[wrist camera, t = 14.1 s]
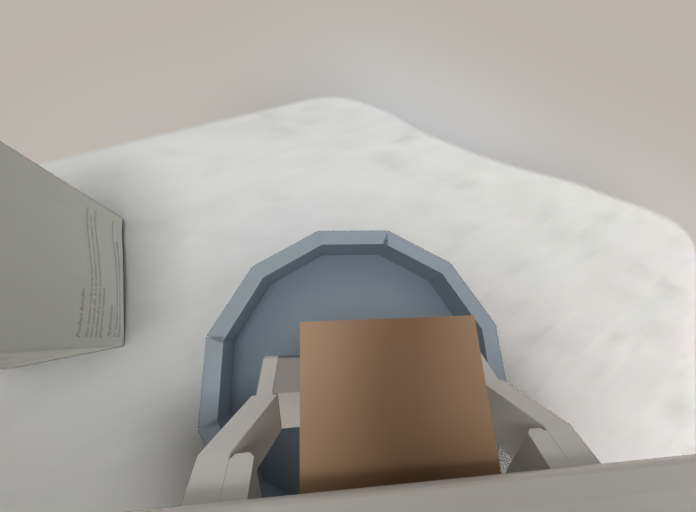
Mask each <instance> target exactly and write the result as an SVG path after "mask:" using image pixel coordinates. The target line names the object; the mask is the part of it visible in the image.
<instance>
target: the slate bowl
mask: <svg viewBox="0 0 696 512" xmlns="http://www.w3.org/2000/svg"><path fill="white" fill-rule="evenodd" d="M449 264H450V263H449V262H447V261H446V260H444V259H442V258H440V257H438V256H436V255H434V254H432V253H430V252H428V251H426V250H424V249H422V248H420V247H419V246H417V245H415V244H413V243H411V242H409V241H407V240H405V239H403V238H401V237H399V236H397V235H395V234H393V233H391V232H390V231H388V232H387V231H318V232H315V233H313V234H311V235H310V236H308V237H306V238H304V239H302V240H300V241H299V242H297V243H295V244H293V245H291V246H289V247H288V248H286V249H284V250H282V251H280V252H278V253H277V254H275V255H273V256H271V257H269V258H267V259H266V260H264V261H262V262H260V263H258V264H256V265H255V266H253V267H254V268H251V270H250V271H249V273H248V274H247V276H246V277H245V279H244V280H243V282H242V283H241V285H240V286H239V288H238V289H237V291H236V292H235V294H234V295H233V297H232V298H231V300H230V301H229V303H228V305H227V306H226V308H225V309H224V311H223V312H222V314H221V315H220V317H219V318H218V320H217V321H216V323H215V324H214V326H213V327H212V329H211V330H210V332H209V333H208V335H207V336H208V337H206V347H205V358H204V368H203V379H202V390H201V401H200V412H199V423H198V428H200V429H199V430H198V431H199V433H200V435H201V437H202V439H203V441H204V444H205V446H206V445H207V444H208V443H209V442H210V441H211V440H212V439H213V438H214V437H215V436H216V434H217V433H218V432H219V431H220V430H221V429H222V428H223V427H224V426H225V425H226V423H227V422H228V421H229V420H230V419H231V418H232V417H233V416H234V415H235V414H236V413H237V411H238V410H239V409H240V408H241V407H242V406H243V405H244V404H245V403H246V402H247V400H248V399H249V398H250V397H251V396H255V395H256V393H257V388H258V383H259V378H260V373H261V368H262V363H263V359H264V357H265V356H279V355H300V322H310V321H336V320H362V319H388V318H414V317H439V316H465V315H474V317H475V323H476V329H477V334H478V340H479V346H480V352H481V354H482V355H483V357H484V358H485V360H486V361H487V363H488V364H489V366H490V367H491V369H492V370H493V372H494V373H495V375H496V376H497V378H498V379H499V380H504V381H505V382H506V378H505V373H504V367H503V362H502V356H501V351H500V346H499V340H498V335H497V330H496V325H494V324H495V323H494V322H493V320H492V319H491V317H490V316H489V315H488V313H487V312H486V311H485V309H484V308H483V307H482V305H481V304H480V302H479V301H478V300H477V298H476V297H475V296H474V294H473V293H472V292H471V290H470V289H469V287H468V286H467V285H466V283H465V282H464V281H463V279H462V278H461V277H460V275H459V274H458V272H457V271H456V270H455V268H454V267H453V266H452V264H450V265H449ZM496 448H497V452H498V448H499V444H497V443H496ZM257 474H258V479H259V484H260V489H261V494H262V498H265V497H275V496H285V495H295V494H300V427H292V428H282V429H281V432H280V433H279V435H278V437H277V438H276V440H275V441H274V443H273V445H272V446H271V448H270V449H269V451H268V453H267V454H266V456H265V457H264V459H263V461H262V462H261V464H260V465H259V467H258V469H257Z"/></svg>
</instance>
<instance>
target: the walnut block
mask: <svg viewBox="0 0 696 512" xmlns="http://www.w3.org/2000/svg"><path fill="white" fill-rule="evenodd" d="M494 474H501V471H500V465H499V459H498V454H497V448H496V442H495V436H494V430H493V424H492V418H491V412H490V406H489V400H488V394H487V388H486V382H485V376H484V370H483V364H482V358H481V352H480V346H479V340H478V334H477V329H476V323H475V317H474V315H465V316H439V317H414V318H388V319H362V320H336V321H310V322H300V494H305V493H315V492H325V491H335V490H345V489H355V488H365V487H374V486H384V485H394V484H404V483H414V482H424V481H434V480H444V479H454V478H464V477H474V476H484V475H494Z"/></svg>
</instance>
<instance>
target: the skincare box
mask: <svg viewBox="0 0 696 512" xmlns="http://www.w3.org/2000/svg"><path fill="white" fill-rule="evenodd" d="M123 345H124V299H123V248H122V218H121V217H120V216H118V215H117V214H115V213H113V212H112V211H110V210H109V209H107V208H106V207H104V206H102V205H101V204H99V203H98V202H96V201H94V200H93V199H91V198H90V197H88V196H87V195H85V194H83V193H82V192H80V191H78V190H77V189H75V188H74V187H72V186H71V185H69V184H67V183H66V182H64V181H63V180H61V179H59V178H58V177H56V176H55V175H53V174H51V173H50V172H48V171H47V170H45V169H44V168H42V167H40V166H39V165H37V164H36V163H34V162H32V161H31V160H29V159H28V158H26V157H25V156H23V155H22V154H20V153H18V152H17V151H15V150H14V149H12V148H11V147H9V146H7V145H6V144H4V143H3V142H1V141H0V370H4V369H9V368H14V367H19V366H25V365H30V364H35V363H40V362H45V361H50V360H55V359H60V358H65V357H71V356H76V355H81V354H86V353H91V352H96V351H101V350H106V349H111V348H116V347H121V346H123Z"/></svg>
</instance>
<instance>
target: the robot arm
mask: <svg viewBox="0 0 696 512" xmlns="http://www.w3.org/2000/svg"><path fill="white" fill-rule="evenodd" d="M481 358H482V364H483V370H484V376H485V382H486V388H487V394H488V400H489V406H490V412H491V418H492V424H493V430H494V436H495V442H496V443H497V444H499V445H500V446H501V447H502V448H503V449H504V450H505V451H506V452H507V453H508V454H509V455H510V456H511V457H512V458H513V460H512V461H511V463H510V465H509V467H508V469H507V471H506V473H504V474H494V475H484V476H474V477H464V478H454V479H444V480H434V481H424V482H414V483H404V484H394V485H384V486H374V487H365V488H355V489H345V490H335V491H325V492H315V493H305V494H295V495H285V496H275V497H265V498H262V494H261V489H260V484H259V479H258V474H257V469H258V467H259V465H260V464H261V462H262V461H263V459H264V457H265V456H266V454H267V453H268V451H269V449H270V448H271V446H272V445H273V443H274V441H275V440H276V438H277V437H278V435H279V433H280V432H281V429H282V428H292V427H300V355H279V356H265V357H264V359H263V363H262V368H261V373H260V378H259V383H258V388H257V393H256V395H255V396H251V397H250V398H249V399H248V400H247V402H246V403H245V404H244V405H243V406H242V407H241V408H240V409H239V410H238V411H237V413H236V414H235V415H234V416H233V417H232V418H231V419H230V420H229V421H228V422H227V423H226V425H225V426H224V427H223V428H222V429H221V430H220V431H219V432H218V433H217V434H216V436H215V437H214V438H213V439H212V440H211V441H210V442H209V443H208V444H207V445H206V447H205V448H204V449H203V450H202V451H201V452H200V453H199V454H198V456H197V459H196V462H195V465H194V468H193V471H192V474H191V477H190V480H189V483H188V486H187V489H186V492H185V495H184V498H183V501H182V504H181V506H176V507H166V508H156V509H146V510H136V511H126V512H696V454H692V455H682V456H672V457H663V458H653V459H643V460H633V461H623V462H613V463H603V464H601V463H600V462H599V460H598V459H597V458H596V457H595V455H594V454H593V453H592V452H591V450H590V449H589V448H588V446H587V445H586V444H585V443H584V441H583V440H582V439H581V438H580V436H579V435H578V434H577V432H576V431H575V430H574V429H573V427H572V426H571V425H570V424H569V423H567V422H566V421H564V420H563V419H561V418H560V417H558V416H557V415H555V414H554V413H552V412H551V411H549V410H548V409H546V408H545V407H543V406H541V405H540V404H538V403H537V402H535V401H534V400H532V399H531V398H529V397H528V396H526V395H525V394H523V393H522V392H520V391H519V390H517V389H516V388H514V387H513V386H511V385H510V384H508V383H507V382H505V381H504V380H499V379H498V378H497V376H496V375H495V373H494V372H493V370H492V369H491V367H490V366H489V364H488V363H487V361H486V360H485V358H484V357H483V355H482V354H481Z"/></svg>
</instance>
